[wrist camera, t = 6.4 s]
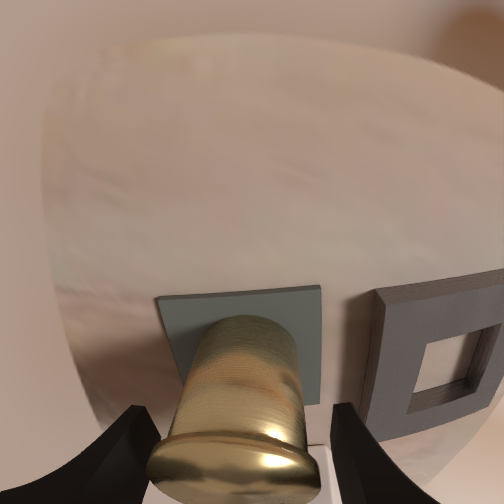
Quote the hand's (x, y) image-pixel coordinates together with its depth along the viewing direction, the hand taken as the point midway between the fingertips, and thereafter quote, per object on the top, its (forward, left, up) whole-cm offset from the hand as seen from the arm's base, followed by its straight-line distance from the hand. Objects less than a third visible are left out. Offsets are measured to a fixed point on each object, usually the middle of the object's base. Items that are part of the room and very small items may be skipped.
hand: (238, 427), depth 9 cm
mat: (0, 0, -4) cm, 4 cm away
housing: (-2, -11, -4) cm, 12 cm away
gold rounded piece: (0, 0, -4) cm, 4 cm away
